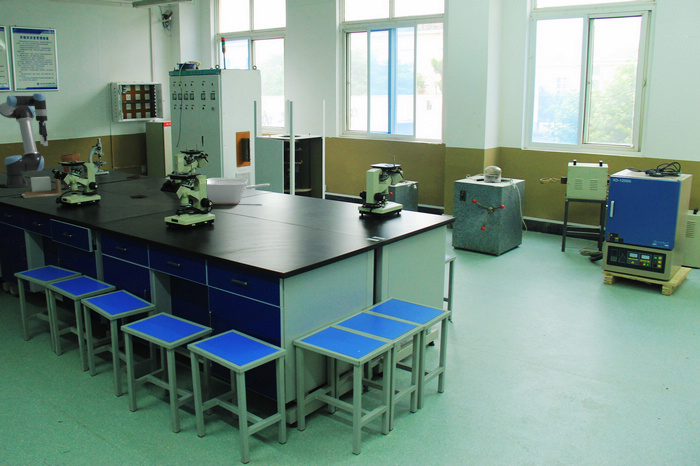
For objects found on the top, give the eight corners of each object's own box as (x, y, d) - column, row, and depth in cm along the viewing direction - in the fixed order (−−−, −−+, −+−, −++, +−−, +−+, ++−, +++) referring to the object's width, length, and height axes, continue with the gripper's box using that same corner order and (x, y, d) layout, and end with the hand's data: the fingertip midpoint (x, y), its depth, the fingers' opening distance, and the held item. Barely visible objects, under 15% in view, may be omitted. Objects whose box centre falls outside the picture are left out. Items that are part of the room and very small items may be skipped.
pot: (209, 198, 426) (208, 177, 423) (272, 199, 427) (271, 178, 424) (200, 206, 398) (199, 184, 395) (267, 207, 400) (267, 185, 396)
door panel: (32, 194, 425) (30, 177, 422) (50, 193, 431) (49, 176, 428) (33, 195, 422) (31, 178, 419) (51, 193, 429) (50, 177, 426)
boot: (94, 185, 473) (91, 151, 467) (99, 186, 467) (96, 152, 460) (61, 188, 456) (57, 153, 450) (65, 190, 450) (61, 154, 443)
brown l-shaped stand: (22, 195, 426) (19, 171, 422) (58, 192, 439) (56, 169, 435) (24, 198, 416) (21, 173, 412) (62, 195, 430) (59, 171, 426)
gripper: (32, 114, 441) (35, 143, 446) (38, 116, 421) (41, 146, 426) (44, 114, 445) (47, 142, 450) (49, 116, 425) (52, 146, 430)
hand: (44, 144), depth 438 cm, fingers open, 13 cm apart
